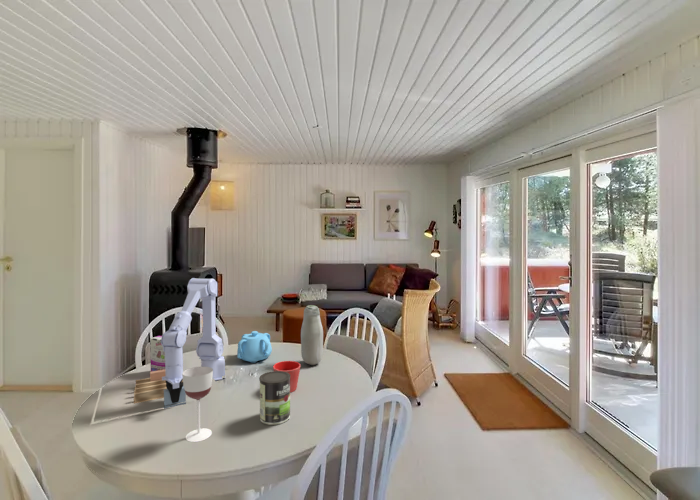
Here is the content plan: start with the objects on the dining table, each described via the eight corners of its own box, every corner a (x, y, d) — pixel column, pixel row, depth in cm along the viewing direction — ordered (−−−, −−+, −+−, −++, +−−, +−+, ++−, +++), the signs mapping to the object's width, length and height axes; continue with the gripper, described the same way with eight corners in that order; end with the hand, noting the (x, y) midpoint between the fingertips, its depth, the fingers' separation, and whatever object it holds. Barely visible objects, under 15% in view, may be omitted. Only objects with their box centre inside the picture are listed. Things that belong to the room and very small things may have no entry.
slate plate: (185, 401, 135) (184, 385, 134) (185, 404, 133) (185, 387, 132) (164, 406, 131) (163, 389, 131) (164, 408, 129) (163, 392, 129)
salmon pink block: (170, 382, 148) (169, 368, 148) (170, 384, 147) (170, 370, 146) (150, 386, 145) (150, 371, 145) (150, 388, 143) (150, 373, 143)
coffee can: (296, 414, 125) (296, 374, 124) (275, 428, 116) (275, 385, 116) (274, 407, 131) (274, 368, 130) (253, 419, 122) (252, 378, 121)
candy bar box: (178, 374, 160) (177, 337, 159) (169, 378, 155) (168, 340, 154) (159, 370, 164) (159, 334, 163) (150, 374, 159) (149, 337, 158)
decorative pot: (242, 353, 188) (242, 327, 187) (273, 353, 189) (273, 327, 188) (233, 365, 172) (233, 336, 171) (268, 364, 172) (267, 336, 172)
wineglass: (188, 428, 116) (187, 367, 115) (216, 427, 117) (216, 366, 116) (179, 442, 108) (178, 377, 107) (209, 441, 109) (208, 376, 108)
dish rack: (184, 380, 153) (184, 371, 153) (188, 395, 140) (188, 385, 139) (134, 389, 145) (134, 379, 144) (133, 406, 131) (133, 395, 130)
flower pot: (306, 388, 146) (306, 365, 145) (283, 397, 138) (283, 372, 137) (289, 381, 153) (289, 358, 153) (267, 389, 145) (267, 365, 145)
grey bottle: (326, 362, 175) (326, 304, 174) (313, 369, 167) (313, 308, 165) (310, 358, 181) (310, 302, 179) (297, 364, 172) (296, 306, 170)
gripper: (160, 359, 135) (161, 395, 136) (162, 372, 123) (163, 411, 123) (181, 356, 139) (182, 391, 140) (185, 368, 126) (186, 407, 127)
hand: (174, 400), depth 132 cm, fingers closed on slate plate, 2 cm apart
